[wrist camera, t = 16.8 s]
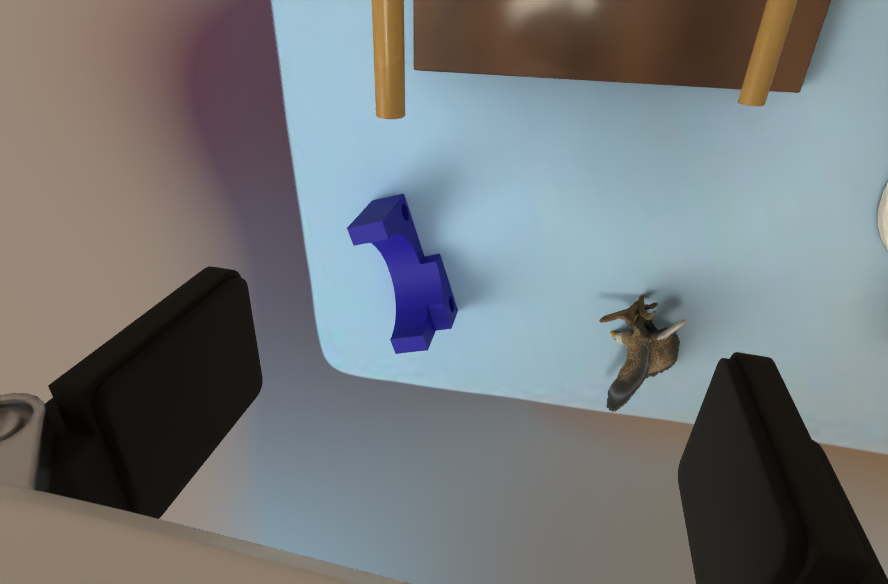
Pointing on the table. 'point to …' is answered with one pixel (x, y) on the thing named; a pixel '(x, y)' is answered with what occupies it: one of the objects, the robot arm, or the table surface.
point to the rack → (602, 42)
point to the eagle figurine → (641, 351)
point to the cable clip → (407, 273)
